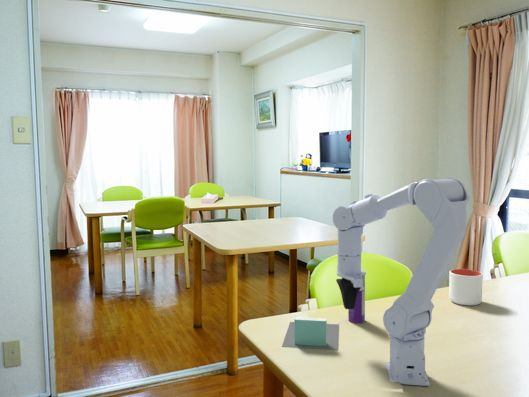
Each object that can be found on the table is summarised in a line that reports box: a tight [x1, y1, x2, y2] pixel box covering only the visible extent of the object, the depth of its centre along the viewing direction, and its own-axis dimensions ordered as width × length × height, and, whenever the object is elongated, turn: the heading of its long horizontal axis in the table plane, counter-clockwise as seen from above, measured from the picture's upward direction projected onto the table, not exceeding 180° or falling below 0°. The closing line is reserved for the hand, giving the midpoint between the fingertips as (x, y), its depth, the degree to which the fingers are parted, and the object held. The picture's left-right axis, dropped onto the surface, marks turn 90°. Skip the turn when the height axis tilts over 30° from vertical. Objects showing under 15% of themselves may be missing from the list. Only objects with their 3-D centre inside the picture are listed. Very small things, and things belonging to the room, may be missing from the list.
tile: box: [293, 316, 328, 346], centre depth 116 cm, size 2×8×6 cm, turn 80°
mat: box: [281, 321, 340, 351], centre depth 122 cm, size 18×14×1 cm
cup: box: [448, 268, 484, 307], centre depth 151 cm, size 10×10×10 cm
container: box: [347, 275, 366, 324], centre depth 132 cm, size 5×5×15 cm
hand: (349, 308), depth 113 cm, fingers closed
